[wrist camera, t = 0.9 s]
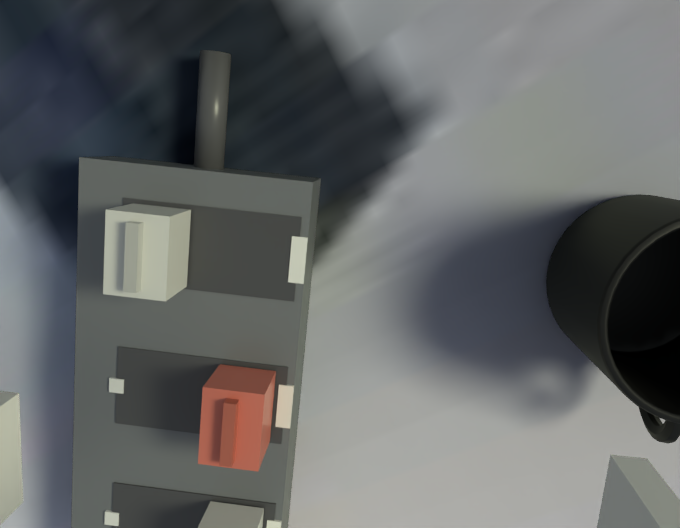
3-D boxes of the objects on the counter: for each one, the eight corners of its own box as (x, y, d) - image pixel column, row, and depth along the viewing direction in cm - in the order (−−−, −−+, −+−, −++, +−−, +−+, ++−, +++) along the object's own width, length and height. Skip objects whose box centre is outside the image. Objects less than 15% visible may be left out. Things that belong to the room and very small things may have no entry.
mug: (539, 400, 37) (588, 480, 28) (547, 195, 34) (605, 211, 26) (705, 401, 36) (811, 485, 27) (725, 193, 34) (848, 209, 25)
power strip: (113, 46, 34) (77, 32, 30) (331, 67, 34) (324, 56, 30) (98, 531, 40) (66, 575, 36) (284, 557, 40) (273, 604, 36)
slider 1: (133, 203, 32) (99, 210, 28) (191, 209, 31) (165, 217, 28) (129, 279, 32) (97, 297, 29) (186, 286, 32) (161, 304, 29)
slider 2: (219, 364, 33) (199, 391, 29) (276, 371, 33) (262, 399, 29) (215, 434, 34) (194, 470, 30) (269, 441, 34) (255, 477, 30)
